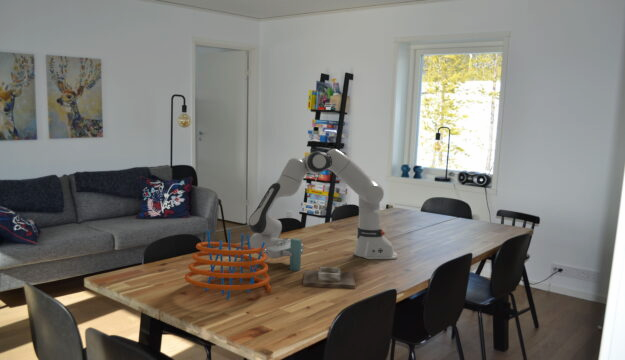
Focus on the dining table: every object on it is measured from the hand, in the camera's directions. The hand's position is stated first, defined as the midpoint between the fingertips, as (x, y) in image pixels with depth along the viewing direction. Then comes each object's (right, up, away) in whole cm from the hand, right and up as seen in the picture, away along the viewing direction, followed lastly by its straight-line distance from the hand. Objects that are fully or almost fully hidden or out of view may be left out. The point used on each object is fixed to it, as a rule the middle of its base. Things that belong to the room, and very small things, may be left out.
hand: (296, 253), depth 242 cm
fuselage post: (-1, -8, +2) cm, 8 cm away
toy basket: (-27, -11, -30) cm, 42 cm away
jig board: (+15, -10, -13) cm, 22 cm away
